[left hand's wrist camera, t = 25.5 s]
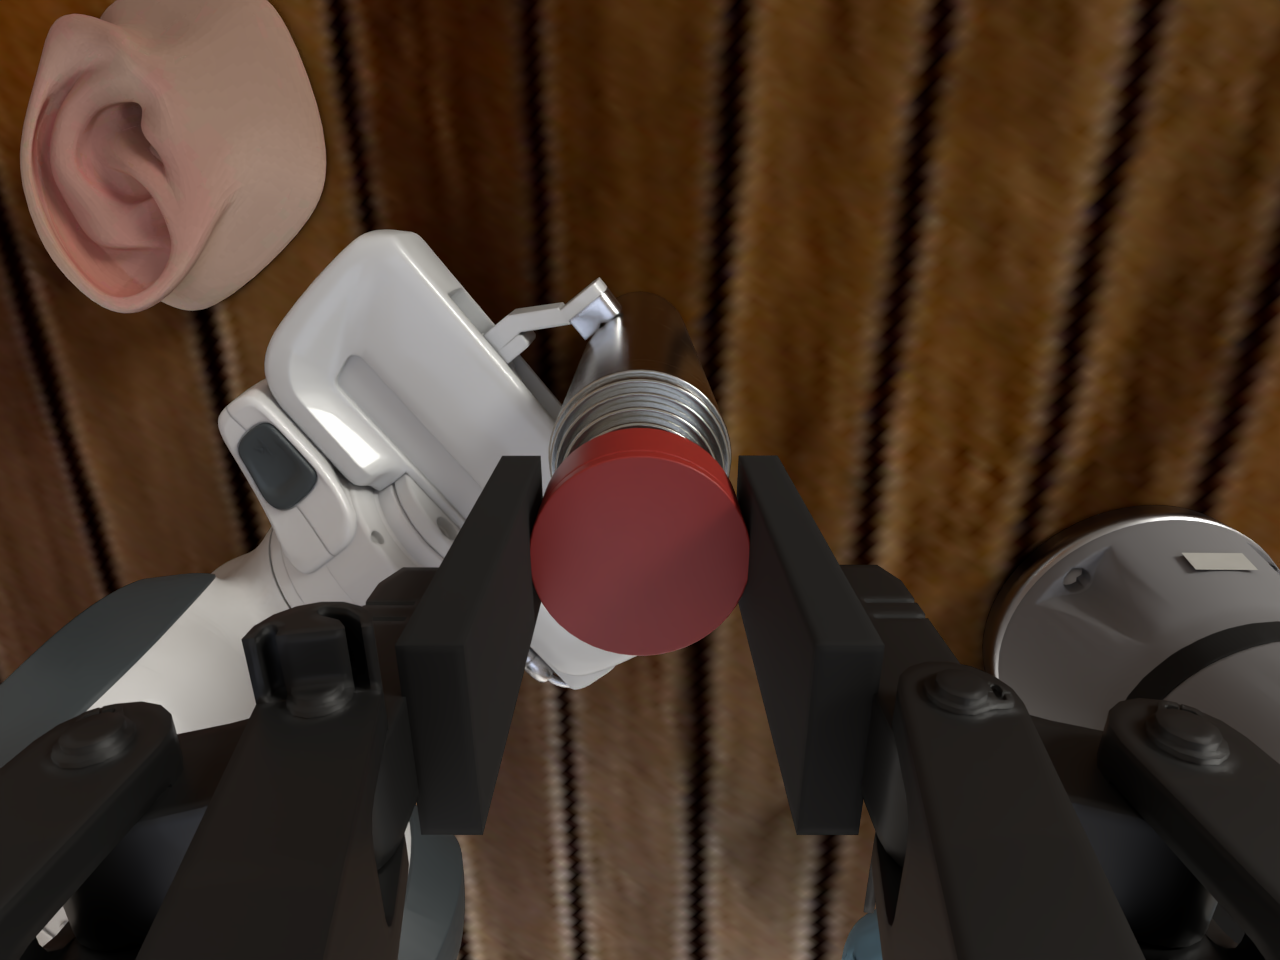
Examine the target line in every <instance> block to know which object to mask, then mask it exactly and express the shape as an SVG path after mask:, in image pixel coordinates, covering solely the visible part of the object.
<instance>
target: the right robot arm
mask: <svg viewBox="0 0 1280 960" xmlns="http://www.w3.org/2000/svg"><path fill="white" fill-rule="evenodd" d="M621 308H622V306H621V305H620V303H619V302H618V301H617V299H616V298H615V297H614V295H613V294H612V293H611V291H610V290H609V289H608V287H607V286H606V285H605V283H604V282H603V281H602V280H601V278H600V277H599V278H597V279H596V280H595V281H593V282H592V283H591V284H590V285H588V286H587V287H586V288H585V289H583V290H582V291H581V292H580V293H579V294H577V295H576V296H575V297H574V298H572V299H571V300H570V301H569V302H568V303H566V304H564V303H563V302H561V303H554V304H547V305H540V306H533V307H526V308H519V309H515V310H514V311H512V312H511V313H510V314H508V315H507V316H506V317H505V318H503V319H502V320H501V321H500V322H499V323H497V324H496V325H495V324H494V323H493V322H492V321H491V320H490V319H489V317H488V316H487V315H486V314H485V313H484V311H483V310H482V309H481V308H480V307H479V305H478V304H477V303H476V302H475V301H474V299H473V298H472V297H471V296H470V295H469V294H468V292H467V291H466V290H465V289H464V288H463V286H462V285H461V284H460V283H459V282H458V280H457V279H456V278H455V277H454V276H453V275H452V273H451V272H450V271H449V270H448V269H447V267H446V266H445V265H444V264H443V263H442V261H441V260H440V259H439V258H438V257H437V255H436V254H435V253H434V252H433V251H432V249H431V248H430V247H429V246H428V245H427V243H426V242H425V241H424V240H423V239H422V238H421V237H420V236H419V235H418V234H416V233H413V232H408V231H399V230H375V231H371V232H368V233H365V234H363V235H361V236H359V237H358V238H356V239H355V240H354V241H352V242H351V243H350V244H349V245H348V246H347V247H346V248H345V249H344V250H342V251H341V252H340V253H339V254H338V256H337V257H336V258H335V259H334V260H333V261H332V262H331V263H330V264H329V265H328V266H327V267H326V268H325V269H324V270H323V271H322V272H321V273H320V275H319V276H318V277H317V278H316V279H315V280H314V281H313V282H312V283H311V285H310V286H309V287H308V288H307V289H306V291H305V292H304V293H303V294H302V295H301V297H300V298H299V299H298V300H297V302H296V303H295V304H294V306H293V307H292V308H291V309H290V311H289V312H288V313H287V315H286V316H285V317H284V319H283V320H282V321H281V323H280V324H279V326H278V327H277V329H276V331H275V332H274V334H273V336H272V338H271V340H270V342H269V345H268V347H267V351H266V355H265V376H266V379H264V380H262V381H260V382H258V383H257V384H255V385H254V386H252V387H250V388H249V389H247V390H246V391H245V392H243V393H242V394H241V395H239V396H238V397H237V398H236V399H234V400H233V401H232V402H231V403H230V404H229V405H227V406H226V407H225V408H224V410H223V411H222V412H221V414H220V415H219V418H218V427H219V430H220V433H221V435H222V438H223V440H224V441H225V443H226V445H227V447H228V448H229V450H230V452H231V453H232V455H233V457H234V458H235V460H236V462H237V463H238V465H239V467H240V468H241V470H242V472H243V473H244V475H245V477H246V479H247V480H248V482H249V484H250V486H251V487H252V489H253V491H254V493H255V494H256V496H257V498H258V500H259V502H260V504H261V506H262V507H263V509H264V511H265V513H266V515H267V517H268V519H269V521H270V523H271V525H272V526H271V528H270V529H269V531H268V532H267V534H266V535H265V537H264V539H263V540H262V542H261V543H260V545H259V546H258V547H257V548H256V549H254V550H253V551H251V552H250V553H247V554H244V555H242V556H239V557H236V558H234V559H232V560H230V561H228V562H226V563H224V564H223V565H221V566H220V567H218V568H217V569H216V570H215V571H213V572H212V573H211V574H208V573H190V574H179V575H171V576H163V577H155V578H148V579H142V580H139V581H136V582H133V583H131V584H129V585H126V586H124V587H122V588H120V589H118V590H116V591H114V592H113V593H111V594H109V595H107V596H106V597H104V598H102V599H101V600H99V601H98V602H96V603H95V604H93V605H92V606H90V607H89V608H87V609H86V610H85V611H83V612H82V613H81V614H79V615H78V616H77V617H75V618H74V619H73V620H71V621H70V622H69V623H68V624H66V625H65V626H64V627H63V628H62V629H60V630H59V631H58V632H57V633H56V634H54V635H53V636H52V637H51V638H50V639H49V640H48V641H47V642H45V643H44V644H43V645H42V646H41V647H40V648H39V649H38V650H37V651H36V652H34V653H33V654H32V655H31V656H30V657H29V658H28V659H27V660H26V661H25V662H24V663H23V664H22V665H21V666H20V667H18V668H17V669H16V670H15V671H14V672H13V673H12V674H11V675H10V676H9V677H8V678H7V679H6V680H5V681H4V682H2V683H1V684H0V768H2V767H3V766H4V765H5V764H6V763H8V762H9V761H10V760H11V759H12V758H14V757H15V756H16V755H17V754H19V753H20V752H21V751H22V750H23V749H25V748H26V747H27V746H28V745H29V744H31V743H32V742H33V741H34V740H36V739H37V738H39V737H40V736H42V735H43V734H45V733H46V732H48V731H49V730H51V729H52V728H54V727H55V726H57V725H58V724H61V723H63V722H65V721H67V720H70V719H72V718H74V717H76V716H78V715H80V714H82V713H84V712H86V711H89V710H92V709H95V708H98V707H99V708H102V707H103V706H106V705H111V704H117V703H128V702H139V701H143V702H148V703H154V704H159V705H162V706H163V707H164V708H165V709H166V710H167V711H168V712H170V713H171V715H172V718H173V722H174V725H175V729H176V732H177V734H181V733H185V732H190V731H195V730H200V729H205V728H210V727H215V726H220V725H225V724H230V723H234V722H237V721H241V720H245V719H248V718H250V716H251V714H252V712H253V710H254V708H255V705H256V702H255V697H254V693H253V688H252V684H251V680H250V675H249V671H248V666H247V662H246V658H245V653H244V649H243V644H242V640H241V639H242V638H243V637H244V636H245V635H246V634H247V633H248V632H249V631H250V629H251V628H252V627H253V626H255V625H256V624H258V623H260V622H261V621H263V620H265V619H267V618H268V617H270V616H272V615H273V614H276V613H279V612H282V611H285V610H287V609H290V608H293V607H296V606H300V605H306V604H311V603H317V602H347V603H351V604H355V605H359V606H363V605H366V600H367V599H368V598H369V596H370V595H371V593H372V592H373V591H374V589H375V588H376V586H377V585H378V583H380V582H381V581H383V580H384V579H386V578H387V577H389V576H390V575H392V574H393V573H395V572H396V571H398V570H400V569H401V568H403V567H439V566H440V565H441V563H442V561H443V559H444V558H445V556H446V554H447V552H448V550H449V549H450V547H451V545H452V543H453V542H454V540H455V538H456V536H457V535H458V533H459V531H460V529H461V527H462V526H463V524H464V522H465V520H466V519H467V517H468V515H469V513H470V512H471V510H472V508H473V506H474V505H475V503H476V501H477V499H478V497H479V496H480V494H481V492H482V490H483V489H484V487H485V485H486V483H487V482H488V480H489V478H490V476H491V474H492V473H493V471H494V469H495V467H496V466H497V464H498V462H499V460H500V459H501V457H502V456H541V470H542V489H543V496H544V493H545V491H546V488H547V486H548V483H549V481H550V479H551V476H550V469H549V459H548V455H549V443H550V438H551V434H552V431H553V428H554V425H555V422H556V420H557V417H558V415H559V412H560V410H561V407H562V404H561V403H560V402H559V401H558V399H557V398H556V397H555V396H554V395H553V394H552V392H551V391H550V390H549V389H548V388H547V386H546V385H545V384H544V383H543V382H542V380H541V379H540V378H539V377H538V376H537V374H536V373H535V372H534V371H533V370H532V369H531V367H530V366H529V365H528V364H527V363H526V361H525V360H524V359H523V358H522V357H521V355H520V353H521V352H523V351H524V350H525V349H526V348H527V347H528V346H529V345H530V344H531V343H532V341H533V340H534V339H535V337H536V334H535V333H534V332H533V330H538V329H545V328H551V327H557V326H564V325H570V324H572V325H573V326H574V327H575V329H576V330H577V331H578V332H579V333H580V335H581V336H582V337H583V338H584V339H585V340H586V339H588V338H589V337H590V336H591V335H593V334H594V333H595V332H596V331H597V330H598V329H599V327H600V324H601V323H605V322H608V321H610V320H611V319H613V318H614V317H615V316H616V315H617V314H618V313H619V312H620V311H621V310H622V309H621ZM633 657H635V656H632V655H623V654H617V653H613V652H608V651H604V650H602V649H599V648H596V647H593V646H591V645H589V644H587V643H585V642H583V641H581V640H579V639H578V638H576V637H575V636H573V635H572V634H570V633H569V632H567V631H566V630H565V629H564V628H563V627H562V626H560V625H559V624H558V623H557V622H556V621H555V619H554V618H553V617H552V616H551V615H550V614H549V612H548V611H547V610H546V608H545V607H544V605H543V604H542V602H541V605H540V609H539V613H538V617H537V621H536V625H535V629H534V633H533V637H532V641H531V645H530V649H529V653H528V657H527V661H526V665H525V669H524V670H525V671H526V672H527V673H528V674H529V675H530V676H531V677H532V678H534V679H535V680H537V681H538V682H540V683H544V682H546V681H549V682H550V683H552V684H554V685H557V686H560V687H564V688H572V689H575V690H577V689H581V688H584V687H586V686H588V685H590V684H592V683H593V682H595V681H596V680H598V679H599V678H601V677H602V676H604V675H605V674H607V673H608V672H610V671H611V670H612V669H613V668H614V667H615V665H618V664H620V663H622V662H625V661H627V660H629V659H631V658H633ZM554 672H555V673H556V674H557V675H558V676H559V677H558V676H556V675H555V674H554ZM405 839H406V845H407V852H408V860H409V870H408V879H407V887H406V895H405V903H404V912H403V920H402V928H401V936H400V945H399V953H398V960H456V959H457V956H458V953H459V950H460V946H461V940H462V934H463V926H464V912H465V888H464V871H463V862H462V853H461V849H460V846H459V843H458V841H457V839H456V837H455V836H454V835H421V829H420V822H419V815H418V808H417V806H416V805H415V807H414V809H413V812H412V815H411V817H410V820H409V823H408V825H407V828H406V831H405ZM67 922H68V918H67V915H66V913H65V910H64V908H63V907H62V908H61V909H60V910H59V911H58V912H57V913H56V914H55V916H54V917H53V918H52V919H51V920H50V921H49V922H48V924H47V925H46V926H45V927H44V928H43V929H42V930H41V932H40V933H39V934H38V935H37V936H36V938H37V940H38V943H39V945H41V946H42V947H43V946H44V945H45V944H47V943H48V942H49V941H50V940H51V939H52V938H54V937H55V936H56V935H57V934H58V933H59V931H60V930H61V929H62V928H63V927H64V926H65V924H66V923H67Z"/></svg>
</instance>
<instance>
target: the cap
mask: <svg viewBox="0 0 1280 960" xmlns="http://www.w3.org/2000/svg"><path fill="white" fill-rule="evenodd" d="M749 548H750V538H749V534H748V530H747V526H746V523H745V520H744V518H743V515H742V512H741V509H740V506H739V503H738V500H737V497H736V494H735V491H734V489H733V486H732V484H731V482H730V480H729V478H728V476H727V475H726V473H725V471H724V470H723V469H722V467H721V466H720V465H719V463H718V462H717V461H716V460H715V459H714V458H713V457H712V456H711V455H710V454H709V453H708V452H707V451H705V450H704V449H703V448H701V447H700V446H699V445H697V444H695V443H694V442H692V441H690V440H688V439H687V438H684V437H682V436H679V435H677V434H674V433H671V432H667V431H663V430H658V429H650V428H630V429H621V430H617V431H613V432H609V433H606V434H603V435H601V436H598V437H596V438H593V439H592V440H590V441H588V442H586V443H584V444H583V445H581V446H580V447H579V448H577V449H576V450H575V451H573V452H572V453H571V454H570V455H569V456H568V457H567V458H566V459H565V460H564V461H563V462H562V463H561V464H560V466H559V467H558V468H557V470H556V471H555V472H554V474H553V476H552V478H551V479H550V481H549V483H548V486H547V488H546V491H545V493H544V496H543V499H542V502H541V505H540V508H539V511H538V514H537V517H536V520H535V523H534V526H533V529H532V533H531V537H530V556H531V572H532V582H533V584H534V587H535V590H536V593H537V594H538V596H539V598H540V600H541V602H542V604H543V605H544V607H545V608H546V610H547V611H548V612H549V614H550V615H551V616H552V617H553V618H554V619H555V621H556V622H557V623H558V624H559V625H560V626H562V627H563V628H564V629H565V630H566V631H567V632H569V633H570V634H572V635H573V636H575V637H576V638H578V639H579V640H581V641H583V642H585V643H587V644H589V645H591V646H593V647H596V648H599V649H602V650H604V651H608V652H613V653H617V654H623V655H632V656H647V655H656V654H663V653H667V652H672V651H675V650H678V649H681V648H684V647H687V646H689V645H691V644H693V643H695V642H697V641H699V640H700V639H702V638H704V637H705V636H707V635H708V634H710V633H711V632H712V631H713V630H715V629H716V628H717V627H718V626H719V625H721V623H722V622H723V621H724V620H725V619H726V618H727V617H728V616H729V615H730V613H731V612H732V611H733V609H734V608H735V607H736V605H737V604H738V602H739V600H740V598H741V596H742V594H743V592H744V589H745V587H746V584H747V580H748V566H749Z"/></svg>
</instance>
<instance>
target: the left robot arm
mask: <svg viewBox="0 0 1280 960" xmlns="http://www.w3.org/2000/svg"><path fill="white" fill-rule="evenodd" d="M542 499H543V489H542V470H541V456H502V457H501V459H500V460H499V462H498V464H497V466H496V467H495V469H494V471H493V473H492V474H491V476H490V478H489V480H488V482H487V483H486V485H485V487H484V489H483V490H482V492H481V494H480V496H479V497H478V499H477V501H476V503H475V505H474V506H473V508H472V510H471V512H470V513H469V515H468V517H467V519H466V520H465V522H464V524H463V526H462V527H461V529H460V531H459V533H458V535H457V536H456V538H455V540H454V542H453V543H452V545H451V547H450V549H449V550H448V552H447V554H446V556H445V558H444V559H443V561H442V563H441V565H440V566H439V567H403V568H401V569H400V570H398V571H396V572H395V573H393V574H392V575H390V576H389V577H387V578H386V579H384V580H383V581H381V582H380V583H378V585H377V586H376V588H375V589H374V591H373V592H372V593H371V595H370V596H369V598H368V599H367V600H366V605H363V606H359V605H355V604H351V603H347V602H317V603H311V604H306V605H300V606H296V607H293V608H290V609H287V610H285V611H282V612H279V613H276V614H273V615H272V616H270V617H268V618H267V619H265V620H263V621H261V622H260V623H258V624H256V625H255V626H253V627H252V628H251V629H250V631H249V632H248V633H247V634H246V635H245V636H244V637H243V638H242V639H241V640H242V644H243V649H244V653H245V658H246V662H247V666H248V671H249V675H250V680H251V684H252V688H253V693H254V697H255V702H256V705H255V708H254V710H253V712H252V714H251V716H250V718H248V719H245V720H241V721H237V722H234V723H230V724H225V725H220V726H215V727H210V728H205V729H200V730H195V731H190V732H185V733H181V734H177V732H176V729H175V725H174V722H173V718H172V715H171V713H170V712H168V711H167V710H166V709H165V708H164V707H163V706H162V705H159V704H154V703H148V702H143V701H139V702H128V703H117V704H111V705H106V706H103V707H102V708H99V707H98V708H95V709H92V710H89V711H86V712H84V713H82V714H80V715H78V716H76V717H74V718H72V719H70V720H67V721H65V722H63V723H61V724H58V725H57V726H55V727H54V728H52V729H51V730H49V731H48V732H46V733H45V734H43V735H42V736H40V737H39V738H37V739H36V740H34V741H33V742H32V743H31V744H29V745H28V746H27V747H26V748H25V749H23V750H22V751H21V752H20V753H19V754H17V755H16V756H15V757H14V758H12V759H11V760H10V761H9V762H8V763H6V764H5V765H4V766H3V767H2V768H0V960H398V953H399V945H400V936H401V928H402V920H403V912H404V903H405V895H406V887H407V879H408V870H409V860H408V852H407V845H406V839H405V831H406V828H407V825H408V823H409V820H410V817H411V815H412V812H413V809H414V807H415V804H416V802H417V808H418V815H419V822H420V829H421V835H483V831H484V828H485V824H486V820H487V816H488V812H489V808H490V804H491V800H492V796H493V792H494V788H495V784H496V780H497V776H498V772H499V768H500V764H501V760H502V756H503V752H504V748H505V744H506V740H507V736H508V732H509V728H510V724H511V720H512V716H513V713H514V709H515V705H516V701H517V697H518V693H519V689H520V685H521V681H522V677H523V673H524V669H525V665H526V661H527V657H528V653H529V649H530V645H531V641H532V637H533V633H534V629H535V625H536V621H537V617H538V613H539V609H540V605H541V600H540V598H539V596H538V594H537V593H536V590H535V587H534V584H533V582H532V572H531V556H530V537H531V533H532V529H533V526H534V523H535V520H536V517H537V514H538V511H539V508H540V505H541V502H542ZM737 500H738V503H739V506H740V509H741V512H742V515H743V518H744V520H745V523H746V526H747V530H748V534H749V538H750V548H749V566H748V580H747V584H746V587H745V589H744V592H743V594H742V596H741V598H740V600H739V602H738V603H739V607H740V611H741V615H742V619H743V623H744V627H745V631H746V635H747V639H748V643H749V647H750V651H751V655H752V659H753V663H754V667H755V671H756V675H757V679H758V683H759V687H760V690H761V694H762V698H763V702H764V706H765V710H766V714H767V718H768V722H769V726H770V730H771V734H772V738H773V742H774V746H775V750H776V754H777V758H778V762H779V766H780V770H781V774H782V778H783V782H784V786H785V790H786V794H787V798H788V802H789V806H790V810H791V814H792V817H793V821H794V825H795V829H796V833H797V835H858V833H859V826H860V819H861V812H862V805H863V799H864V802H865V804H866V807H867V810H868V812H869V815H870V818H871V820H872V823H873V825H874V828H875V831H876V832H875V839H874V845H873V852H872V858H871V865H870V872H869V878H868V885H867V892H866V899H865V906H864V912H867V913H868V914H866V915H865V916H864V917H862V918H861V919H860V920H859V921H858V922H857V923H856V924H855V925H854V927H853V928H852V930H851V931H850V933H849V935H848V938H847V941H846V943H845V947H844V950H843V955H842V960H1280V570H1279V568H1278V567H1277V566H1276V564H1275V563H1274V562H1273V561H1272V559H1271V558H1270V557H1269V555H1268V554H1267V553H1266V552H1265V551H1264V550H1263V549H1262V548H1261V547H1260V546H1259V545H1257V544H1256V543H1255V542H1254V541H1252V540H1251V539H1250V538H1248V537H1246V536H1245V535H1243V534H1242V533H1240V532H1238V531H1236V530H1234V529H1232V528H1230V527H1229V526H1227V525H1225V524H1223V523H1221V522H1219V521H1217V520H1215V519H1213V518H1211V517H1209V516H1207V515H1205V514H1202V513H1199V512H1196V511H1193V510H1190V509H1185V508H1180V507H1174V506H1165V505H1145V506H1133V507H1127V508H1121V509H1116V510H1112V511H1108V512H1105V513H1102V514H1099V515H1096V516H1093V517H1090V518H1088V519H1085V520H1083V521H1081V522H1078V523H1076V524H1074V525H1072V526H1070V527H1068V528H1066V529H1065V530H1063V531H1061V532H1060V533H1058V534H1056V535H1055V536H1053V537H1052V538H1050V539H1049V540H1047V541H1046V542H1045V543H1043V544H1042V545H1041V546H1039V547H1038V548H1037V549H1036V550H1035V551H1034V552H1032V553H1031V554H1030V555H1029V556H1028V557H1027V558H1026V559H1025V560H1024V561H1023V562H1022V563H1021V564H1020V565H1019V566H1018V567H1017V568H1016V570H1015V571H1014V572H1013V573H1012V574H1011V576H1010V577H1009V578H1008V580H1007V581H1006V582H1005V584H1004V585H1003V587H1002V588H1001V590H1000V592H999V594H998V595H997V597H996V599H995V601H994V603H993V606H992V608H991V610H990V613H989V616H988V619H987V622H986V626H985V631H984V637H983V662H984V668H985V672H984V671H981V670H979V669H976V668H974V667H972V666H967V665H962V664H960V663H959V661H958V660H957V659H956V657H955V656H954V654H953V653H952V652H951V650H950V649H949V647H948V646H947V645H946V643H945V642H944V640H943V639H942V638H941V636H940V635H939V633H938V632H937V630H936V629H935V628H934V626H933V625H932V623H931V622H930V621H929V619H928V618H925V614H924V612H923V611H922V609H921V608H920V607H919V605H918V604H917V603H914V598H913V597H912V595H911V594H910V592H909V591H908V590H907V588H906V587H905V585H904V584H903V583H902V581H901V580H899V579H898V578H896V577H895V576H893V575H892V574H890V573H889V572H887V571H885V570H884V569H882V568H881V567H879V566H878V565H839V564H838V562H837V560H836V558H835V557H834V555H833V553H832V551H831V550H830V548H829V546H828V544H827V542H826V541H825V539H824V537H823V535H822V534H821V532H820V530H819V528H818V527H817V525H816V523H815V521H814V520H813V518H812V516H811V514H810V512H809V511H808V509H807V507H806V505H805V504H804V502H803V500H802V498H801V497H800V495H799V493H798V491H797V489H796V488H795V486H794V484H793V482H792V481H791V479H790V477H789V475H788V474H787V472H786V470H785V468H784V466H783V465H782V463H781V461H780V459H779V458H778V456H739V461H738V480H737ZM875 902H876V909H875V910H874V907H875ZM62 907H63V908H64V910H65V913H66V915H67V918H68V922H67V923H66V924H65V926H64V927H63V928H62V929H61V930H60V931H59V933H58V934H57V935H56V936H55V937H54V938H52V939H51V940H50V941H49V942H48V943H47V944H45V945H44V946H43V947H42V946H41V945H39V943H38V940H37V938H36V936H37V935H38V934H39V933H40V932H41V930H42V929H43V928H44V927H45V926H46V925H47V924H48V922H49V921H50V920H51V919H52V918H53V917H54V916H55V914H56V913H57V912H58V911H59V910H60V909H61V908H62Z"/></svg>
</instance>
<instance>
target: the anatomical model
mask: <svg viewBox="0 0 1280 960" xmlns="http://www.w3.org/2000/svg"><path fill="white" fill-rule="evenodd" d="M20 169H21V177H22V184H23V189H24V193H25V197H26V200H27V204H28V208H29V211H30V214H31V217H32V219H33V222H34V224H35V227H36V230H37V232H38V234H39V236H40V239H41V240H42V242H43V244H44V246H45V248H46V250H47V251H48V253H49V255H50V256H51V258H52V259H53V261H54V262H55V263H56V265H57V266H58V267H59V269H60V270H61V271H62V272H63V273H64V274H65V276H66V277H67V278H68V279H69V280H70V281H71V282H72V283H73V284H74V285H75V286H76V287H77V288H78V289H79V290H80V291H81V292H82V293H84V294H85V295H86V296H87V297H89V298H90V299H91V300H92V301H94V302H96V303H97V304H99V305H100V306H102V307H104V308H106V309H109V310H111V311H115V312H119V313H135V312H140V311H143V310H145V309H148V308H150V307H152V306H154V305H156V304H157V303H159V302H160V301H162V302H164V303H166V304H168V305H170V306H173V307H175V308H179V309H182V310H191V311H194V310H202V309H205V308H208V307H211V306H213V305H215V304H217V303H219V302H220V301H222V300H224V299H225V298H227V297H229V296H230V295H232V294H233V293H235V292H236V291H237V290H238V289H240V288H241V287H242V286H244V285H245V284H246V283H247V282H249V281H250V280H251V279H252V278H254V277H255V276H256V275H257V274H258V273H259V272H260V271H261V270H263V269H264V268H265V267H266V266H267V265H268V264H269V263H270V262H271V261H272V260H273V259H274V258H275V257H276V256H277V255H278V254H279V253H280V252H281V251H282V250H283V249H284V248H285V247H286V246H287V245H288V244H289V242H290V241H291V240H292V239H293V238H294V237H295V236H296V235H297V233H298V232H299V231H300V229H301V228H302V227H303V226H304V224H305V223H306V222H307V220H308V219H309V218H310V216H311V214H312V213H313V211H314V209H315V208H316V205H317V203H318V201H319V199H320V196H321V194H322V191H323V187H324V182H325V175H326V148H325V141H324V134H323V127H322V123H321V119H320V115H319V111H318V107H317V103H316V100H315V97H314V94H313V91H312V88H311V84H310V81H309V78H308V76H307V73H306V70H305V68H304V65H303V63H302V60H301V57H300V55H299V52H298V50H297V48H296V46H295V44H294V41H293V39H292V37H291V35H290V33H289V31H288V29H287V27H286V25H285V24H284V22H283V20H282V18H281V17H280V15H279V14H278V13H277V11H276V10H275V9H274V7H273V6H272V5H271V4H270V3H269V2H268V1H267V0H117V1H115V2H114V3H113V4H112V5H110V6H109V7H108V8H107V9H106V10H105V12H104V13H103V15H102V16H101V18H100V19H98V18H95V17H91V16H87V15H83V14H70V15H65V16H62V17H60V18H59V19H57V20H56V21H55V22H54V24H53V25H52V27H51V28H50V30H49V33H48V35H47V38H46V40H45V44H44V48H43V52H42V56H41V60H40V64H39V68H38V71H37V75H36V79H35V82H34V86H33V89H32V93H31V97H30V100H29V104H28V108H27V113H26V117H25V121H24V126H23V132H22V139H21V149H20Z"/></svg>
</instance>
